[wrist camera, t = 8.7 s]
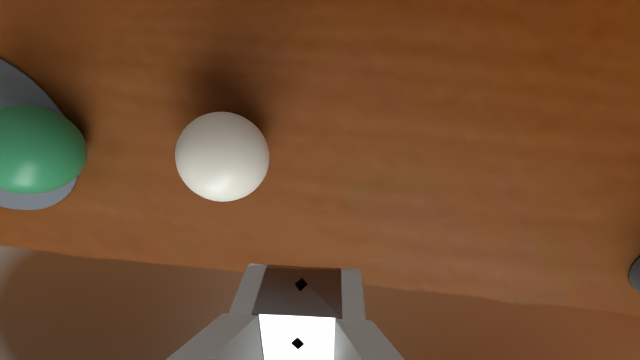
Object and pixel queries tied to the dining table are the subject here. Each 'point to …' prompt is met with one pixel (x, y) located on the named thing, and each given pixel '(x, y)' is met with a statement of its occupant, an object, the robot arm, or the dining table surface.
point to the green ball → (38, 149)
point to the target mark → (18, 89)
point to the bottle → (635, 275)
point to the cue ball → (222, 156)
